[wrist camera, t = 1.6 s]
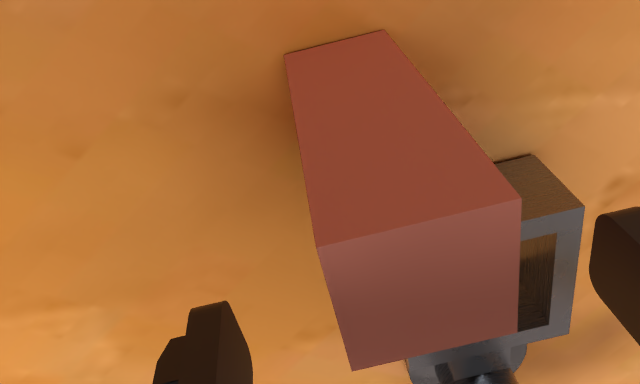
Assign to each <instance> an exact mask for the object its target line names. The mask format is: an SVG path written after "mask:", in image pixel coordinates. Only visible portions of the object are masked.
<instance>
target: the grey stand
mask: <svg viewBox="0 0 640 384" xmlns="http://www.w3.org/2000/svg"><path fill="white" fill-rule="evenodd" d="M494 165H495V166H496V167H497V168H498V170H499V171H500V172H501V173H502V175H503V176H504V177H505V178H506V179H507V181H508V182H509V183H510V184H511V186H512V187H513V188H514V189H515V190H516V192H517V193H518V194H519V195H520V197H521V198H522V206H521V236H520V266H519V295H518V325H517V333H514V334H509V335H505V336H501V337H497V338H492V339H488V340H484V341H480V342H475V343H471V344H467V345H463V346H458V347H454V348H450V349H446V350H441V351H437V352H433V353H429V354H424V355H420V356H416V357H412V358H407V359H406V366H407V369H408V372H409V376H410V379H411V381H412V383H413V384H518V382H517V380H516V378H515V376H514V374H513V373H514V372H515V371H516V370H517V369H518V367H519V366H520V365H521V363H522V361H523V359H524V357H525V355H526V350H527V343H532V342H536V341H540V340H544V339H549V338H553V337H557V336H561V335H566V334H569V328H570V320H571V312H572V304H573V297H574V289H575V281H576V273H577V265H578V257H579V250H580V242H581V234H582V226H583V218H584V211H585V206H584V205H583V204H582V203H581V202H580V201H579V200H578V199H577V198H576V197H575V196H574V195H573V194H572V193H571V192H570V191H569V190H568V189H567V187H566V186H565V185H564V184H563V183H562V182H561V181H560V180H559V179H558V178H557V177H556V176H555V175H554V174H553V173H552V172H551V171H550V170H549V169H548V168H547V167H546V166H545V165H544V164H543V163H542V162H541V161H540V160H539V159H538V158H537V157H536V156H535V155H531V156H527V157H523V158H519V159H515V160H510V161H506V162H502V163H498V164H494Z"/></svg>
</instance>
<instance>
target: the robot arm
mask: <svg viewBox="0 0 640 384" xmlns="http://www.w3.org/2000/svg"><path fill="white" fill-rule="evenodd" d="M589 274H590V279H591V282H592V285H593V287H594V289H595V291H596V292H597V294H598V296H599V297H600V298H601V299H602V301H603V302H604V303H605V304H606V305H607V307H608V308H609V309H610V310H611V311H612V313H613V314H614V315H615V316H616V317H617V319H618V320H619V321H620V322H621V324H622V325H623V326H624V327H625V328H626V330H627V331H628V332H629V333H630V334H631V336H632V337H633V338H634V339H635V341H636V342H637V343H638V344H639V345H640V207H632V208H628V209H623V210H619V211H615V212H610V213H606V214H602V215H600V216H598V217H597V219H596V222H595V228H594V235H593V242H592V250H591V257H590V264H589ZM153 384H253V369H252V361H251V356H250V352H249V348H248V345H247V343H246V341H245V338H244V336H243V334H242V332H241V329H240V327H239V325H238V323H237V320H236V318H235V316H234V314H233V311H232V309H231V307H230V305H229V303H228V302H227V301H222V302H218V303H213V304H209V305H205V306H200V307H196V308H192V309H191V310H190V313H189V317H188V323H187V330H186V336H181V337H177V338H173V339H171V340H170V341H169V343H168V345H167V346H166V348H165V350H164V351H163V353H162V354H161V356H160V358H159V359H158V361H157V365H156V369H155V374H154V379H153Z"/></svg>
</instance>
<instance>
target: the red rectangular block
mask: <svg viewBox="0 0 640 384" xmlns="http://www.w3.org/2000/svg"><path fill="white" fill-rule="evenodd" d="M284 59H285V65H286V71H287V77H288V83H289V89H290V95H291V101H292V106H293V112H294V118H295V124H296V130H297V136H298V142H299V148H300V154H301V160H302V166H303V172H304V178H305V184H306V190H307V196H308V202H309V208H310V214H311V220H312V226H313V231H314V237H315V243H316V249H317V252H318V256H319V259H320V262H321V266H322V269H323V273H324V276H325V280H326V283H327V287H328V290H329V294H330V297H331V300H332V304H333V307H334V311H335V314H336V318H337V321H338V325H339V328H340V332H341V335H342V338H343V342H344V345H345V349H346V352H347V356H348V359H349V363H350V366H351V369H352V371H356V370H360V369H365V368H369V367H373V366H378V365H382V364H386V363H390V362H395V361H399V360H403V359H407V358H412V357H416V356H420V355H424V354H429V353H433V352H437V351H441V350H446V349H450V348H454V347H458V346H463V345H467V344H471V343H475V342H480V341H484V340H488V339H492V338H497V337H501V336H505V335H509V334H514V333H517V325H518V295H519V266H520V236H521V206H522V198H521V197H520V195H519V194H518V193H517V192H516V190H515V189H514V188H513V187H512V186H511V184H510V183H509V182H508V181H507V179H506V178H505V177H504V176H503V175H502V173H501V172H500V171H499V170H498V168H497V167H496V166H495V165H494V164H493V162H492V161H491V160H490V159H489V157H488V156H487V155H486V154H485V153H484V151H483V150H482V149H481V148H480V146H479V145H478V144H477V143H476V142H475V140H474V139H473V138H472V137H471V135H470V134H469V133H468V132H467V131H466V129H465V128H464V127H463V126H462V124H461V123H460V122H459V121H458V120H457V118H456V117H455V116H454V115H453V113H452V112H451V111H450V110H449V108H448V107H447V106H446V105H445V104H444V102H443V101H442V100H441V99H440V97H439V96H438V95H437V94H436V93H435V91H434V90H433V89H432V88H431V86H430V85H429V84H428V83H427V82H426V80H425V79H424V78H423V77H422V75H421V74H420V73H419V72H418V71H417V69H416V68H415V67H414V66H413V64H412V63H411V62H410V61H409V60H408V58H407V57H406V56H405V55H404V53H403V52H402V51H401V50H400V49H399V47H398V46H397V45H396V44H395V42H394V41H393V40H392V39H391V38H390V36H389V35H388V34H387V33H386V31H385V30H381V31H377V32H373V33H369V34H365V35H361V36H357V37H353V38H349V39H345V40H341V41H337V42H333V43H329V44H325V45H321V46H317V47H313V48H309V49H305V50H301V51H297V52H293V53H289V54H285V55H284Z"/></svg>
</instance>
